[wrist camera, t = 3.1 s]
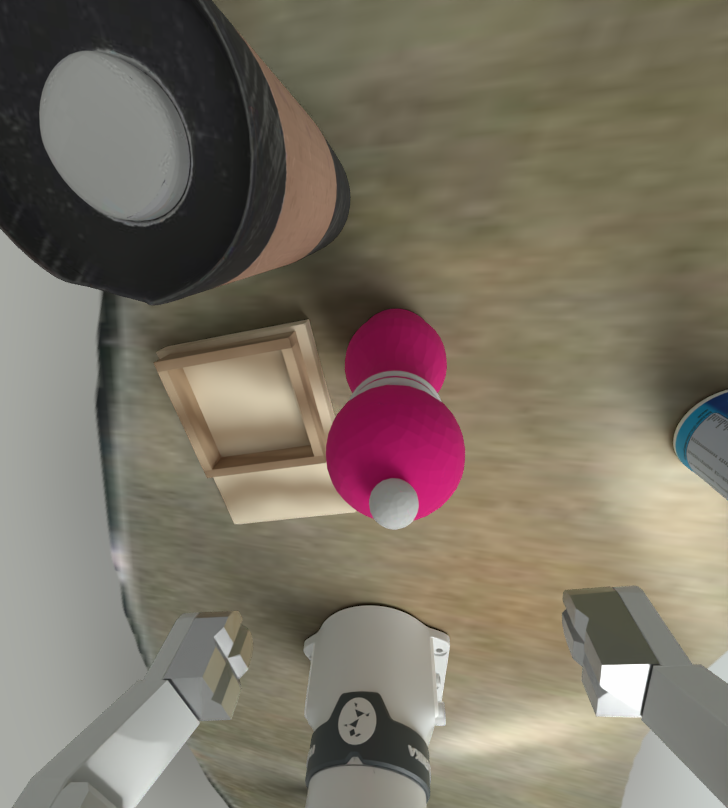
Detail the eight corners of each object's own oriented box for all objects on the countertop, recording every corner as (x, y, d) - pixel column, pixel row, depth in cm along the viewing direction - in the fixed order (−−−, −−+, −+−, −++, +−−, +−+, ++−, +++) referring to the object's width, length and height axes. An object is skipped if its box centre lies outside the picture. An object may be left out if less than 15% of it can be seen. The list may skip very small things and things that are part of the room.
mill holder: (357, 501, 38) (353, 526, 35) (240, 514, 40) (226, 539, 37) (308, 319, 30) (298, 330, 27) (166, 346, 32) (141, 359, 29)
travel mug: (316, 105, 24) (69, -265, 6) (374, 219, 26) (327, 205, 8) (226, 176, 26) (-153, 65, 8) (288, 275, 29) (106, 358, 11)
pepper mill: (337, 364, 31) (259, 548, 13) (375, 285, 28) (339, 387, 10) (412, 400, 32) (432, 617, 14) (457, 327, 29) (553, 488, 11)
